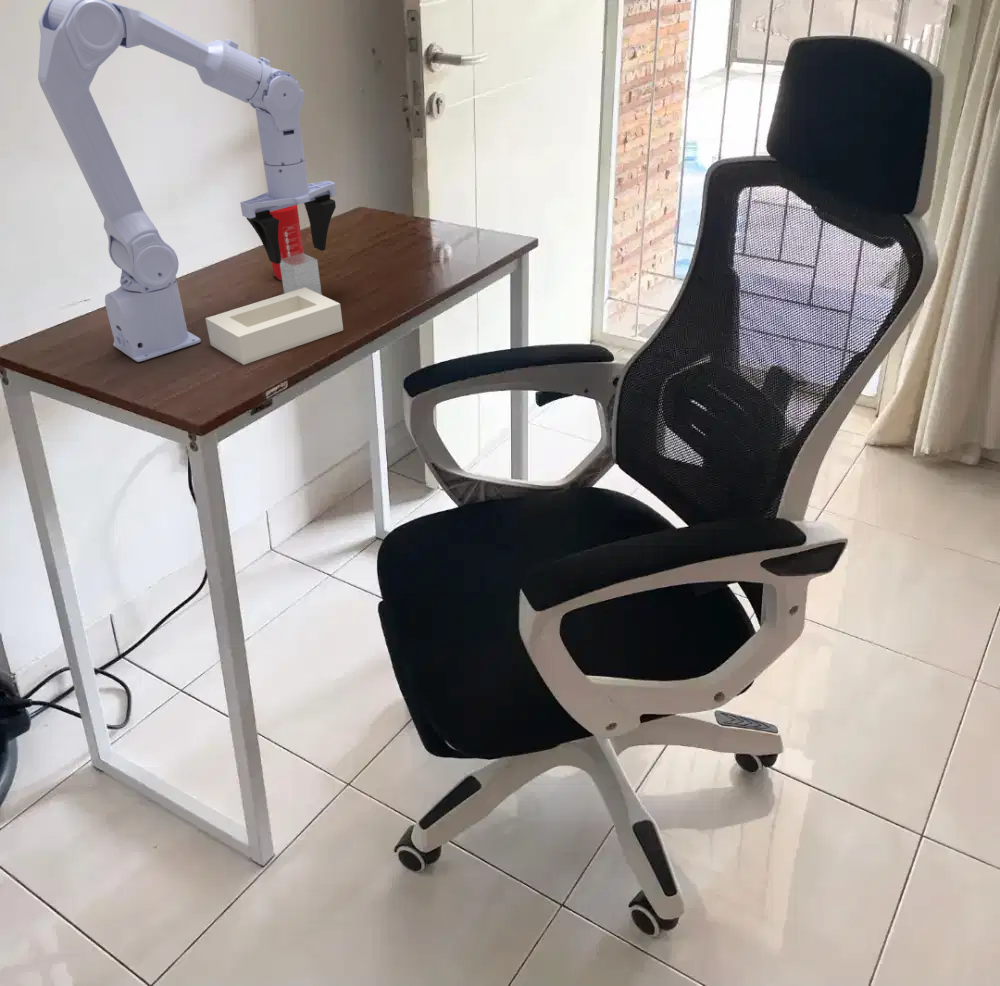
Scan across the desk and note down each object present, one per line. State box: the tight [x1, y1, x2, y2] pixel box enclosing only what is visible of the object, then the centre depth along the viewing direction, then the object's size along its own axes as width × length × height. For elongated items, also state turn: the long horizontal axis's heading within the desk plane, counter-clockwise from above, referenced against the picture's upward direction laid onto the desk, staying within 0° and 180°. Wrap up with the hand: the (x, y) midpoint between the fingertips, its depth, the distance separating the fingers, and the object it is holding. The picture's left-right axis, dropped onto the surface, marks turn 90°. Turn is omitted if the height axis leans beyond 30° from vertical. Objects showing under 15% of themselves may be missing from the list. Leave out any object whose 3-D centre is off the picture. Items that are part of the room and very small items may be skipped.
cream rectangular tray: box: [205, 287, 344, 366], centre depth 140 cm, size 16×9×4 cm, turn 132°
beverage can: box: [270, 205, 305, 281], centre depth 158 cm, size 5×5×12 cm
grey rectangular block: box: [280, 253, 323, 295], centre depth 149 cm, size 4×4×7 cm
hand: (297, 255), depth 147 cm, fingers open, 7 cm apart
